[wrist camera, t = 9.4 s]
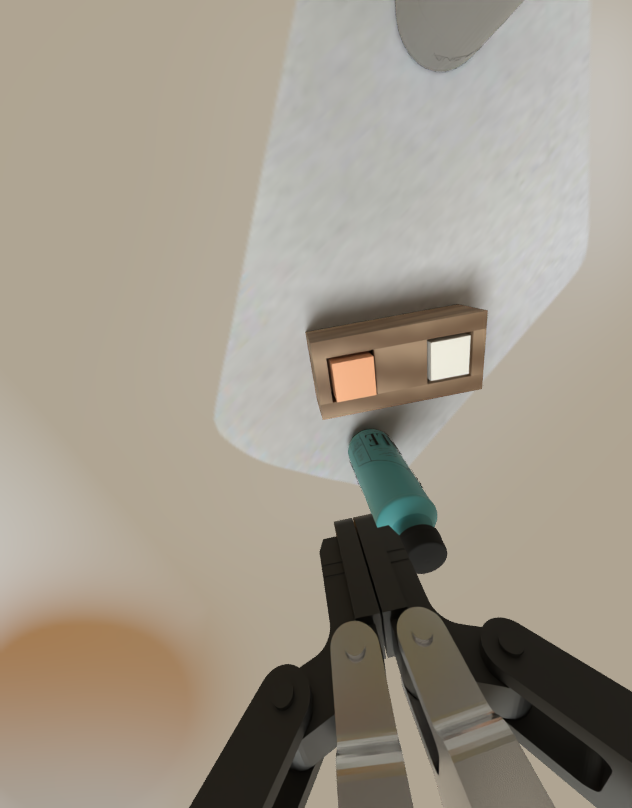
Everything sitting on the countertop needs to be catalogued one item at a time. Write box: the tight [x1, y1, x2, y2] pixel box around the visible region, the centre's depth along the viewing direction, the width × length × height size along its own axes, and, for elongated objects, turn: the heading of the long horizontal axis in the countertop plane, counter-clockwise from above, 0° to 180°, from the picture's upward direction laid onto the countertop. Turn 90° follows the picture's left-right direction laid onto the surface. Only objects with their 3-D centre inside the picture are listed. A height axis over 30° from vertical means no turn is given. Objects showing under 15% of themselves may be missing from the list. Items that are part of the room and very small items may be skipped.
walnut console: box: [305, 304, 488, 420], centre depth 37 cm, size 9×19×6 cm, turn 99°
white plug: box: [427, 333, 471, 381], centre depth 36 cm, size 4×4×5 cm
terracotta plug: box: [326, 351, 377, 402], centre depth 35 cm, size 4×4×5 cm
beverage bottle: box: [348, 429, 447, 574], centre depth 36 cm, size 6×7×20 cm
